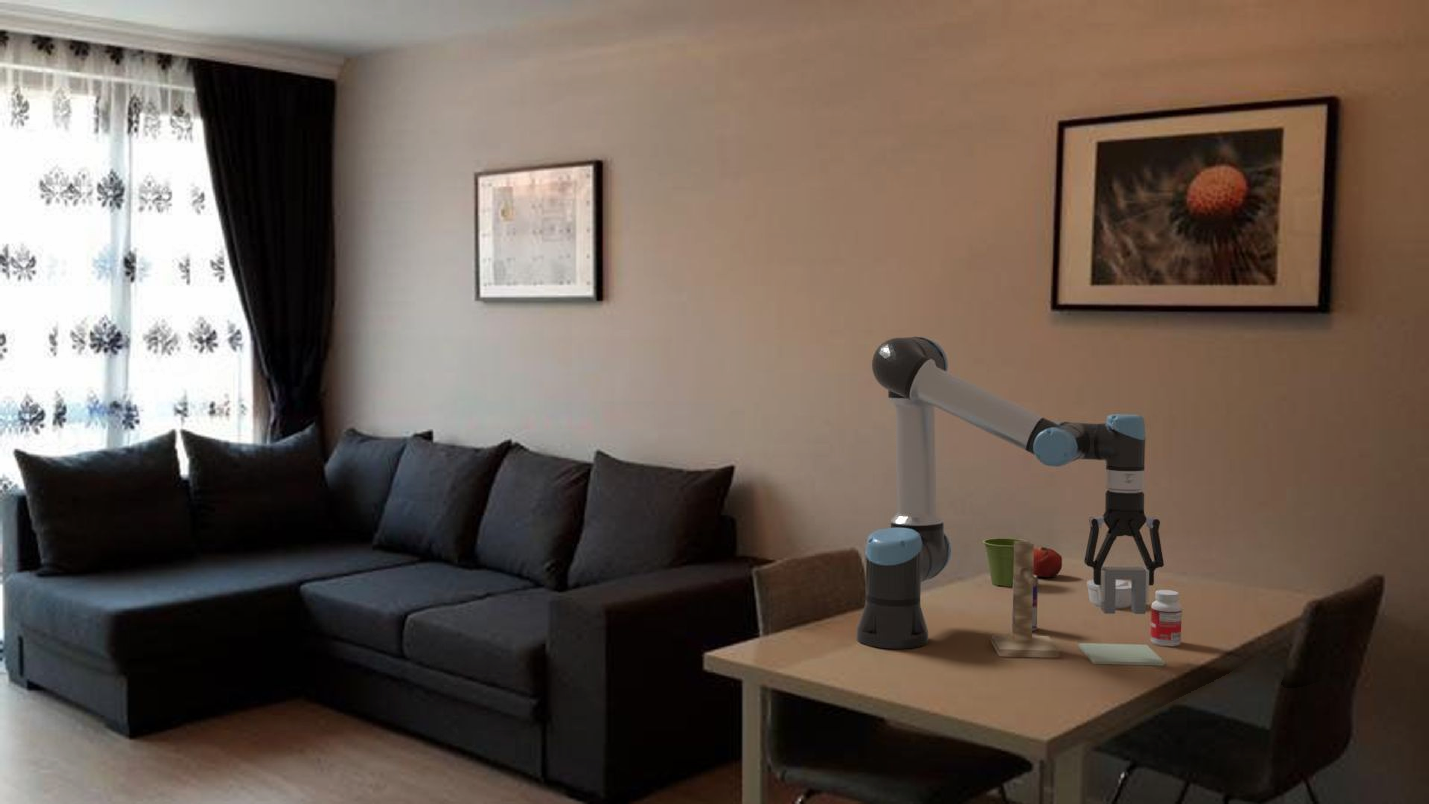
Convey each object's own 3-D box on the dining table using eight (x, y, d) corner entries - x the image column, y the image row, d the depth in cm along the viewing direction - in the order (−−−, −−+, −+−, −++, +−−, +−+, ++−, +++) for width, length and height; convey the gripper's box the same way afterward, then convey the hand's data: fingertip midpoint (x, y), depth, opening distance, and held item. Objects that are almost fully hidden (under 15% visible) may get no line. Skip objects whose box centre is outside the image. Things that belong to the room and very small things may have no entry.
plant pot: (1001, 577, 340) (1001, 536, 339) (1038, 585, 330) (1039, 542, 330) (972, 583, 332) (973, 540, 331) (1009, 591, 323) (1010, 547, 322)
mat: (1093, 663, 255) (1093, 660, 255) (1078, 645, 269) (1078, 643, 269) (1164, 665, 254) (1165, 662, 254) (1146, 647, 268) (1146, 644, 268)
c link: (1105, 613, 259) (1105, 569, 259) (1101, 609, 263) (1101, 566, 262) (1145, 614, 259) (1146, 570, 258) (1140, 610, 262) (1141, 566, 262)
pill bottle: (1151, 638, 276) (1153, 588, 275) (1181, 641, 273) (1183, 590, 272) (1149, 645, 270) (1150, 593, 269) (1179, 648, 268) (1181, 596, 267)
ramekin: (1138, 610, 302) (1138, 588, 302) (1089, 609, 304) (1090, 587, 304) (1130, 600, 313) (1131, 579, 313) (1083, 598, 315) (1084, 577, 315)
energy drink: (1037, 632, 280) (1038, 578, 280) (1012, 631, 282) (1013, 577, 281) (1036, 626, 286) (1037, 573, 285) (1011, 625, 287) (1012, 572, 286)
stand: (1001, 660, 258) (1003, 552, 256) (991, 641, 272) (992, 539, 271) (1061, 661, 257) (1064, 553, 255) (1048, 642, 271) (1050, 540, 270)
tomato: (1040, 572, 348) (1041, 543, 347) (1069, 577, 341) (1069, 547, 340) (1019, 576, 342) (1020, 546, 341) (1048, 582, 335) (1049, 551, 334)
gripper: (1076, 492, 256) (1075, 604, 258) (1182, 493, 255) (1180, 605, 256) (1069, 487, 264) (1067, 596, 265) (1172, 488, 262) (1170, 597, 264)
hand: (1123, 600), depth 261 cm, fingers closed on c link, 8 cm apart
